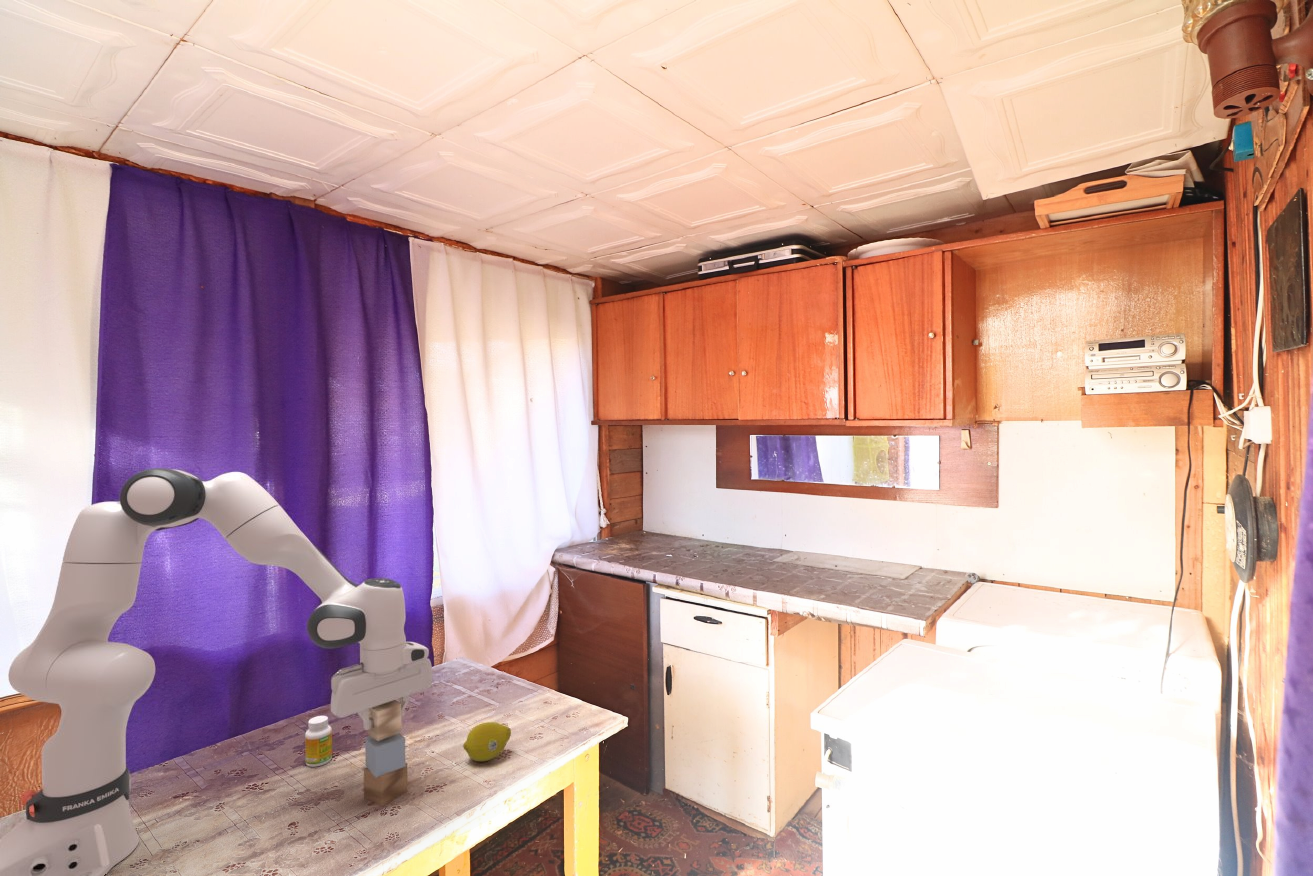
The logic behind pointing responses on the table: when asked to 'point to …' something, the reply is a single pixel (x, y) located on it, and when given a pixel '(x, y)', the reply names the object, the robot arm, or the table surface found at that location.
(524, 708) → the table surface
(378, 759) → the top block
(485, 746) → the lemon
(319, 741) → the supplement bottle
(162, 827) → the table surface
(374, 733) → the maple block
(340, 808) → the table surface
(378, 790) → the bottom block
